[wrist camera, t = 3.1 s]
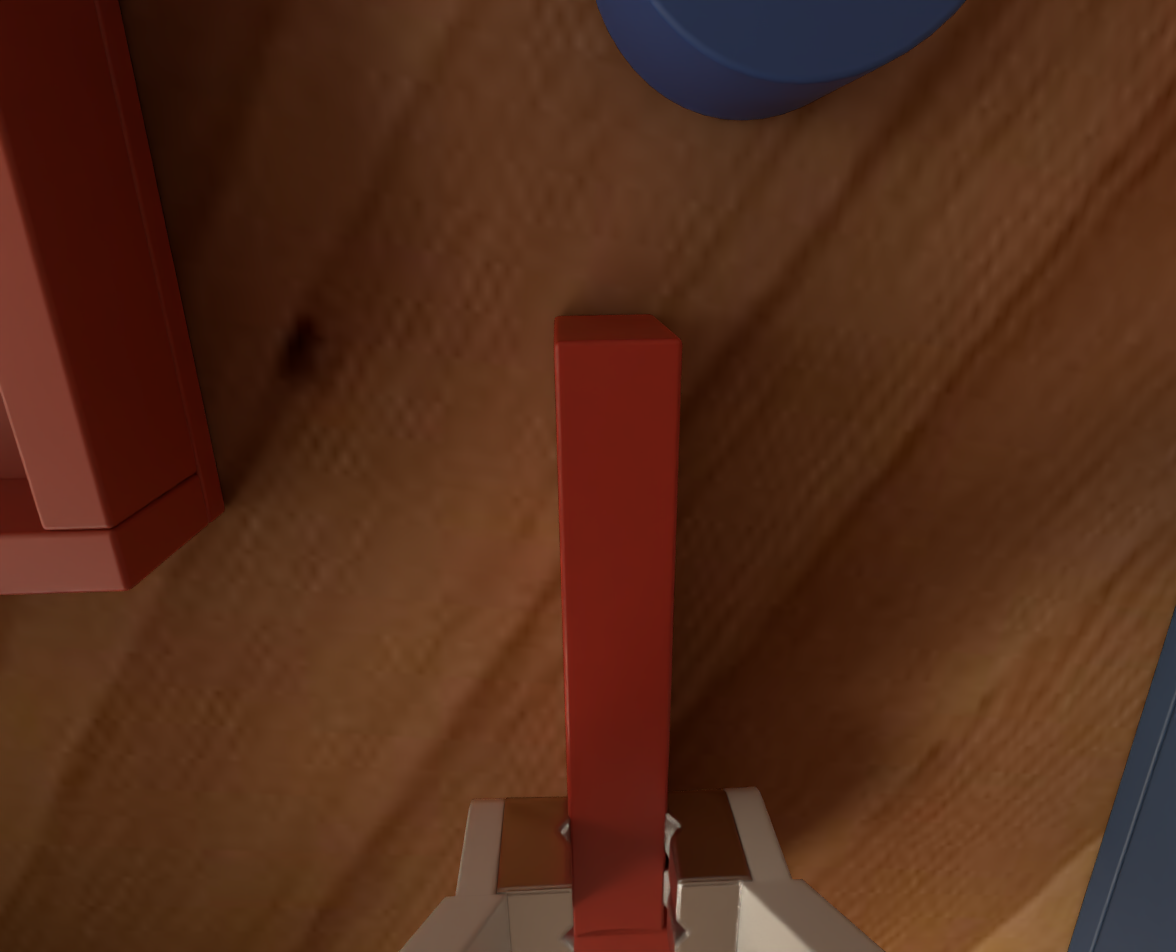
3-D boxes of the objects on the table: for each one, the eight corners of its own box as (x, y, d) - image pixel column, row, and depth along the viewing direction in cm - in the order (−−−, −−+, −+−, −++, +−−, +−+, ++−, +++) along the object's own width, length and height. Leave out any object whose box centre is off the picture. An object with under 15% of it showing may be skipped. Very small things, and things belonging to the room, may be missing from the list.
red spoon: (460, 317, 10) (430, 344, 7) (745, 311, 10) (803, 336, 7) (509, 958, 14) (499, 1100, 12) (705, 948, 14) (734, 1086, 12)
